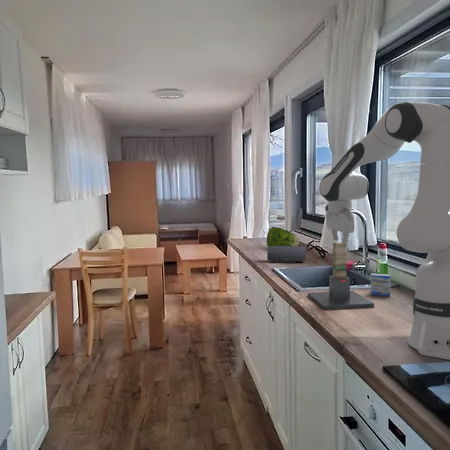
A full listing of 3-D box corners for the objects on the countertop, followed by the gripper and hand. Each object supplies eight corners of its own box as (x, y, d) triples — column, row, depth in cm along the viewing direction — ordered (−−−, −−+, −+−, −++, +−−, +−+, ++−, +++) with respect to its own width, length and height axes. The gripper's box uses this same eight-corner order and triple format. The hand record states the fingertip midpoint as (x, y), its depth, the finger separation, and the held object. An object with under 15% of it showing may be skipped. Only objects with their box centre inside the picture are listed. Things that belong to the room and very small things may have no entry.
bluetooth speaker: (305, 261, 263) (305, 245, 262) (305, 264, 254) (305, 247, 253) (268, 260, 267) (268, 244, 266) (267, 263, 258) (267, 246, 257)
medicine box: (370, 295, 182) (370, 275, 182) (370, 292, 187) (371, 272, 186) (390, 296, 180) (390, 276, 179) (390, 293, 184) (390, 274, 183)
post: (346, 283, 171) (346, 243, 169) (336, 283, 170) (336, 243, 169) (342, 280, 175) (342, 241, 173) (332, 281, 174) (332, 242, 173)
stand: (374, 307, 165) (374, 281, 164) (324, 309, 162) (324, 283, 161) (352, 293, 184) (352, 271, 184) (307, 296, 182) (307, 273, 181)
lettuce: (296, 258, 308) (302, 243, 296) (264, 253, 308) (269, 238, 296) (296, 241, 320) (301, 226, 308) (265, 236, 319) (269, 221, 307)
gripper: (359, 208, 160) (358, 245, 161) (338, 206, 180) (337, 238, 181) (342, 208, 159) (342, 245, 160) (323, 206, 179) (323, 239, 181)
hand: (339, 242), depth 171 cm, fingers open, 8 cm apart
